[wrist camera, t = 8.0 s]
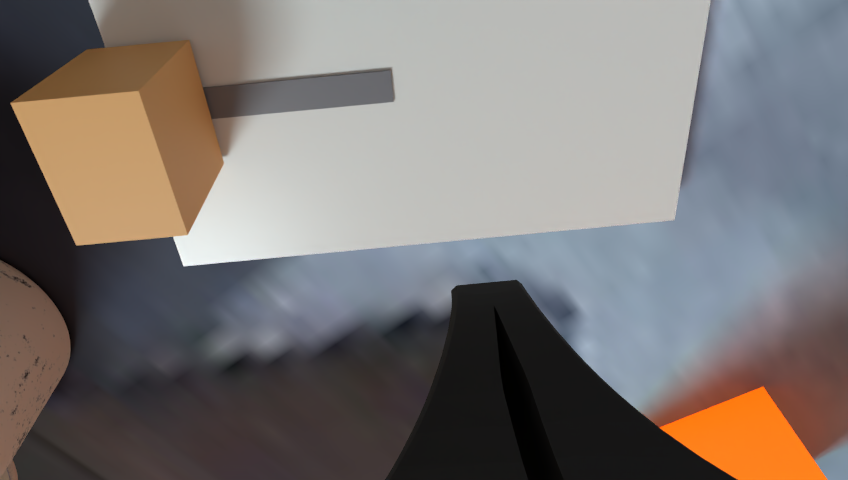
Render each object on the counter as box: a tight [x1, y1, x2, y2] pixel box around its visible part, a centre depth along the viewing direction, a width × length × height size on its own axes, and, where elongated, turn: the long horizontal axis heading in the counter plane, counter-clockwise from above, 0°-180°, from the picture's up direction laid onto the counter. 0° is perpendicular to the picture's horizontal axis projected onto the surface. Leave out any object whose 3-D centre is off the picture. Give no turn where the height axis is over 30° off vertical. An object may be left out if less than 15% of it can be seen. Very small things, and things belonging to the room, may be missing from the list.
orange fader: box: [11, 40, 224, 246], centre depth 17 cm, size 3×4×4 cm
